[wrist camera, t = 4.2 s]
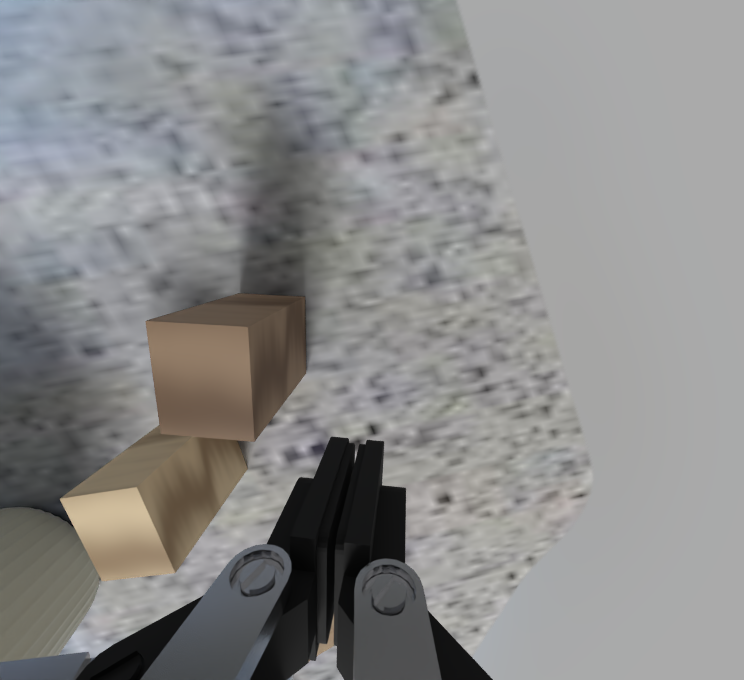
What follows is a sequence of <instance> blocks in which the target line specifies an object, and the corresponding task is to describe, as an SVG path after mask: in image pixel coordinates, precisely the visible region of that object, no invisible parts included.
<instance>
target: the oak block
mask: <svg viewBox="0 0 744 680" xmlns="http://www.w3.org/2000/svg"><path fill="white" fill-rule="evenodd" d="M246 470H247V466H246V463H245V460H244V457H243V455H242V452H241V449H240V446H239V443H238V441H237V440H228V439H216V438H203V437H191V436H179V435H167V434H161V431H160V425H159V426H157V427H156V428H155V429H153V430H152V431H151V432H149V433H148V434H147V435H145V436H144V437H142V438H141V439H140V440H138V441H137V442H136V443H134V444H133V445H132V446H130V447H129V448H128V449H126V450H125V451H124V452H122V453H121V454H119V455H118V456H117V457H115V458H114V459H113V460H111V461H110V462H109V463H107V464H106V465H105V466H103V467H102V468H101V469H99V470H98V471H97V472H95V473H94V474H92V475H91V476H90V477H88V478H87V479H86V480H84V481H83V482H82V483H80V484H79V485H78V486H76V487H75V488H74V489H72V490H71V491H69V492H68V493H67V494H65V495H64V496H63V497H61V498H60V501H61V503H62V505H63V506H64V508H65V510H66V512H67V514H68V516H69V518H70V520H71V522H72V524H73V526H74V528H75V530H76V532H77V534H78V535H79V537H80V539H81V541H82V543H83V545H84V547H85V549H86V551H87V553H88V555H89V557H90V559H91V561H92V563H93V565H94V566H95V568H96V570H97V572H98V574H99V576H100V578H101V580H102V581H108V580H117V579H126V578H135V577H144V576H153V575H162V574H171V573H176V571H177V570H178V568H179V567H180V566H181V564H182V563H183V561H184V560H185V558H186V557H187V555H188V554H189V553H190V551H191V550H192V548H193V547H194V545H195V544H196V542H197V541H198V540H199V538H200V537H201V535H202V534H203V532H204V531H205V529H206V528H207V527H208V525H209V524H210V522H211V521H212V519H213V518H214V517H215V515H216V514H217V512H218V511H219V509H220V508H221V506H222V505H223V504H224V502H225V501H226V499H227V498H228V496H229V495H230V493H231V492H232V491H233V489H234V488H235V486H236V485H237V483H238V482H239V480H240V479H241V478H242V476H243V475H244V473H245V472H246Z"/></svg>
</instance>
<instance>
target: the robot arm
mask: <svg viewBox="0 0 744 680" xmlns="http://www.w3.org/2000/svg"><path fill="white" fill-rule="evenodd" d="M383 455H384V441H373V440H367V441H366V445H365V444H360V445H359V449H358V452H357V456H356V460H355V444H354V443H349V439H348V438H340V437H331V438H330V440H329V443H328V445H327V447H326V450H325V452H324V455H323V457H322V460H321V462H320V464H319V467H318V469H317V472H316V474H315V476H314V479H313V478H303V477H300V478H299V479H298V480H297V482H296V484H295V486H294V488H293V490H292V493H291V495H290V497H289V499H288V501H287V503H286V505H285V507H284V509H283V511H282V513H281V515H280V518H279V520H278V522H277V524H276V526H275V528H274V530H273V532H272V534H271V536H270V538H269V540H268V542H267V544H262V545H255V546H253V547H250V548H247V549H245V550H243V551H242V552H240V553H239V554H237V555H236V556H235V557H234V558H233V559H232V560H231V561H230V562H229V563H228V564H227V566H226V567H225V568H224V570H223V571H222V572H221V574H220V575H219V576H218V577H217V579H216V580H215V581H214V583H213V584H212V585H211V587H210V588H209V589H208V591H207V592H206V593H205V595H204V596H202V597H200V598H198V599H196V600H195V601H193V602H191V603H189V604H187V605H185V606H184V607H182V608H180V609H178V610H176V611H174V612H173V613H171V614H169V615H167V616H165V617H163V618H162V619H160V620H158V621H156V622H154V623H152V624H150V625H149V626H147V627H145V628H143V629H141V630H139V631H138V632H136V633H134V634H132V635H130V636H128V637H127V638H125V639H123V640H121V641H119V642H117V643H116V644H114V645H112V646H111V647H109V648H108V649H106V650H105V651H103V652H102V653H100V654H99V655H98V656H97V657H96V658H90V655H89V652H83V653H74V654H66V655H57V656H49V657H40V658H31V659H23V660H14V661H6V662H0V680H294V674H295V673H296V672H297V671H299V670H300V669H301V668H302V667H304V666H305V665H306V664H307V663H308V662H309V660H313V661H316V657H317V652H318V648H319V643H321V644H327V643H328V639H329V635H330V630H331V625H332V620H333V615H334V645H335V646H337V668H338V670H339V672H340V673H341V675H342V676H343V678H344V680H493V679H492V678H490V676H489V675H488V674H487V673H486V672H485V671H484V670H483V669H482V668H481V667H480V666H479V665H478V663H477V662H476V661H475V660H474V659H473V658H472V657H471V656H470V655H469V654H468V653H467V652H466V651H465V650H464V649H463V647H462V646H461V645H460V644H459V643H458V642H457V641H456V640H455V639H454V638H453V637H452V636H451V635H450V634H449V633H448V632H447V630H446V629H445V628H444V627H443V626H442V625H441V624H440V623H439V622H438V621H437V620H436V619H435V618H434V617H433V616H432V614H431V613H430V612H429V611H428V609H427V604H426V599H425V594H424V589H423V586H422V583H421V580H420V578H419V577H418V575H417V574H416V573H415V571H414V570H413V569H412V568H410V567H409V566H408V565H407V564H405V520H406V488H402V487H392V486H382V473H383ZM354 462H355V464H354Z"/></svg>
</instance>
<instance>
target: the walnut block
mask: <svg viewBox="0 0 744 680" xmlns="http://www.w3.org/2000/svg"><path fill="white" fill-rule="evenodd" d="M146 328H147V336H148V343H149V350H150V358H151V365H152V372H153V380H154V387H155V394H156V402H157V409H158V417H159V424H160V431H161V434H167V435H179V436H191V437H203V438H216V439H228V440H240V441H252V442H255V440H256V439H257V438H258V436H259V435H260V434H261V432H262V431H263V430H264V428H265V427H266V426H267V424H268V423H269V422H270V420H271V419H272V418H273V416H274V415H275V414H276V413H277V411H278V410H279V409H280V407H281V406H282V405H283V403H284V402H285V401H286V399H287V398H288V397H289V395H290V394H291V393H292V391H293V390H294V389H295V387H296V386H297V385H298V383H299V382H300V381H301V379H302V378H303V377H304V375H305V374H306V330H305V297H301V296H282V295H263V294H243V293H238V294H235V295H232V296H228V297H225V298H221V299H218V300H215V301H211V302H208V303H205V304H201V305H198V306H194V307H191V308H188V309H184V310H181V311H177V312H174V313H171V314H167V315H164V316H161V317H157V318H154V319H150V320H147V321H146Z"/></svg>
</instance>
